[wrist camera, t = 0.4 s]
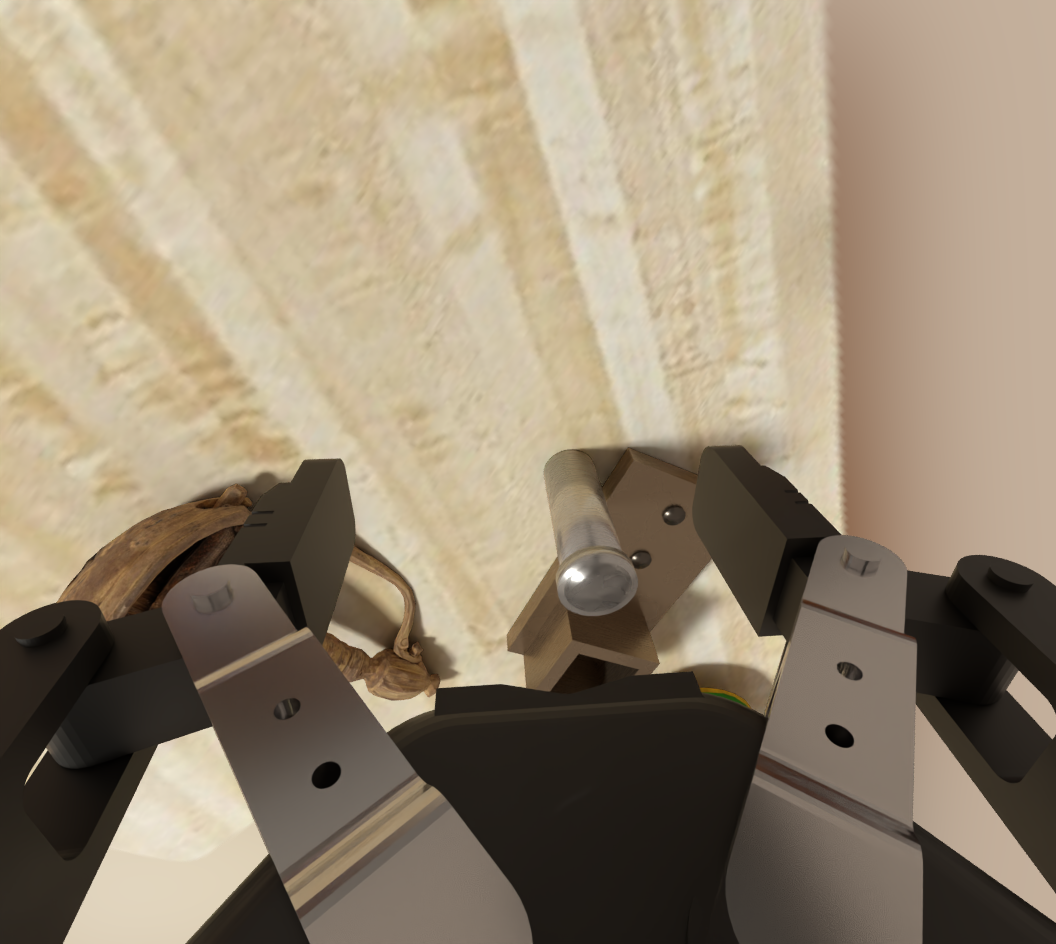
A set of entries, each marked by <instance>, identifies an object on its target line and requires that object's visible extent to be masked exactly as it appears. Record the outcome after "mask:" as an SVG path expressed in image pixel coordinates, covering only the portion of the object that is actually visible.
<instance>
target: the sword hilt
mask: <svg viewBox="0 0 1056 944" xmlns="http://www.w3.org/2000/svg"><path fill="white" fill-rule="evenodd" d="M247 493H248V492H247V491H246V489H245V488H244V487H242V486H240V485H238V484H235V485H232V486H230V487H228V488H227V489H226V490H225V492H224V493H223V494H222V495H221V497H218V498H210V499H206V500H201V501H197V502H192V503H187V504H184V505H180V506H177V507H174V508H171V509H167V510H163V511H161V512H159V513H157V514H155V515H153V516H151V517H149V518H147V519H144V520H142V521H141V522H139V523H137V524H136V525H134V526H132V527H131V528H129V529H128V530H127V531H125V532H124V533H122V534H121V535H119V536H118V537H117V538H115V539H114V540H112V541H111V542H110V543H108V544H107V545H106V546H104V547H103V548H101V549H100V550H99V551H98V552H97V553H96V554H95V555H94V556H93V557H91V558H90V559H89V560H88V561H87V562H86V564H85V565H84V567H83V568H82V570H81V571H80V572H79V573H78V574H77V575H76V577H75V578H74V579H73V580H72V581H71V582H70V584H69V585H68V586H67V588H66V589H65V591H64V592H63V594H62V595H61V597H60V598H59V600H58V601H57V602H56V603H58V602H63V601H70V600H85V601H89V602H93V603H95V604H96V605H97V606H98V607H99V608H100V609H101V611H102V613H103V615H104V617H105V619H106V621H110V620H114V619H118V618H122V617H126V616H130V615H134V614H138V613H142V612H146V611H149V610H153V609H157V608H160V607H162V602H163V600H164V598H165V596H166V595H167V593H168V592H169V591H170V590H171V589H172V588H173V587H174V586H175V585H176V584H177V583H179V582H180V581H182V580H183V579H185V578H186V577H188V576H190V575H192V574H194V573H196V572H199V571H201V570H204V569H207V568H211V567H215V566H217V565H218V563H219V561H220V560H221V558H222V557H223V555H224V554H225V552H226V551H227V549H228V547H229V546H230V544H231V543H232V541H233V540H234V538H235V536H236V535H237V533H238V532H239V530H240V529H241V527H244V525H243V524H244V522H245V521H246V519H247V518H248V516H249V515H251V514H252V513H251V512H250V511H249V510H248V509H247V508H249V507H250V506H252V501H251V500H250V499H249V498H245V497H246V495H247ZM349 561H351V562H353V563H355V564H357V565H359V566H361V567H363V568H365V569H367V570H368V571H370V572H372V573H374V574H376V575H378V576H380V577H382V578H384V579H386V580H387V581H389V582H391V583H392V584H394V585H395V586H396V587H397V588H398V589H399V590H400V592H401V594H402V595H403V597H404V602H405V612H404V619H403V622H402V625H401V628H400V631H399V633H398V635H397V637H396V639H395V641H394V649H385V650H383V651H381V652H379V653H377V654H376V655H375V656H374V657H373V658H370V657H369V656H368V655H367V654H366V653H365V652H364V651H363V650H362V649H359V648H356V647H352V646H349V645H347V644H346V643H345V642H342V641H340V640H339V639H338V638H336V637H335V636H334V635H332V634H330V633H326V636H325V639H324V642H323V645H322V646H323V648H324V649H325V650H326V652H327V653H328V654H329V656H330V657H331V658H332V660H333V661H334V662H335V664H336V665H337V667H338V668H339V669H340V671H341V672H342V673H343V675H344V676H345V677H346V679H347V680H348V681H349V682H353V681H356V680H360V679H364V680H365V682H366V686H367V688H368V691H369V692H370V693H372V694H373V695H375V696H378V697H381V698H385V699H389V700H392V701H393V700H405V699H411V698H413V697H415V696H417V695H418V694H420V693H421V692H422V691H424V692H425V693H426V695H427V696H428V697H430V696H432V695H433V694H435V693H436V688H438V687H439V684H440V678H439V676H438V674H431V675H429V674H428V673H427V670H426V668H425V666H424V664H423V662H422V656H421V655H420V653H421V652H422V651H423V649H422V648H421V647H420V645H419V642H416V643H414V644H413V646H412V647H411V649H410V648H408V636H409V633H410V631H411V628H412V626H413V620H414V612H415V605H416V603H415V600H414V596H413V592H412V590H411V588H410V587H409V586H408V585H407V584H406V582H405V581H404V580H403V579H402V578H401V576H399V575H398V574H397V573H395V572H394V571H392V570H391V569H390V568H388V567H387V566H385V565H384V564H383V563H381V562H380V561H378V560H377V559H375V558H374V557H372V556H370V555H368V554H366V553H364V552H362V551H361V550H359V549H358V548H357V547H355V546H354V548H353V551H352V554H351V557H350V560H349Z"/></svg>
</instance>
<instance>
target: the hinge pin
mask: <svg viewBox="0 0 1056 944" xmlns="http://www.w3.org/2000/svg"><path fill="white" fill-rule="evenodd" d="M544 480H545V485H546V491H547V497H548V503H549V508H550V514H551V520H552V526H553V531H554V537H555V543H556V549H557V554H558V560H559V568H558V570H557V573H556V585H557V591H558V597H559V599H560V601H561V603H562V604H563V605H564V606H565V607H566V608H567V609H568V610H570V611H572V612H574V613H576V614H580V615H584V616H600V615H605V614H609V613H612V612H614V611H617V610H619V609H620V608H622V607H623V606H625V605H626V604H627V603H628V602H629V601H630V600H631V599H632V598H633V596H634V595H635V593H636V591H637V588H638V578H637V574H636V571H635V568H634V566H633V563H632V561H631V559H630V558H629V557H628V556H627V554H625V553H624V552H622V549H621V546H620V543H619V540H618V537H617V534H616V531H615V528H614V524H613V521H612V518H611V515H610V512H609V509H608V506H607V503H606V500H605V497H604V494H603V490H602V487H601V484H600V481H599V478H598V475H597V472H596V469H595V466H594V463H593V461H592V459H591V458H590V457H589V456H588V455H587V454H585V453H584V452H581V451H578V450H565V451H561V452H559V453H557V454H555V455H554V456H552V457H551V458H550V459H549V460H548V462H547V463H546V465H545V468H544Z"/></svg>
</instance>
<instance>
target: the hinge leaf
mask: <svg viewBox="0 0 1056 944" xmlns="http://www.w3.org/2000/svg"><path fill="white" fill-rule="evenodd" d="M697 478H698V475H697V474H694V473H692V472H689V471H687V470H684V469H682V468H679V467H676V466H674V465H671V464H669V463H666V462H664V461H661V460H659V459H656V458H654V457H651V456H649V455H646V454H644V453H641V452H639V451H636V450H634V449H631V448H629V447H628V448H627V450H626V451H625V453H624V455H623V456H622V458H621V459H620V461H619V462H618V464H617V465H616V467H615V468H614V470H613V472H612V473H611V475H610V476H609V478H608V479H607V481H606V482H605V484H604V485H603V487H602V490H603V494H604V497H605V500H606V503H607V506H608V509H609V512H610V515H611V518H612V521H613V524H614V528H615V531H616V534H617V537H618V540H619V543H620V546H621V549H622V552H624V553H625V554H627V556H628V557H629V558H630V559H631V561H632V563H633V566H634V568H635V571H636V574H637V578H638V588H637V591H636V593H635V595H634V596H633V598H632V599H631V600H630V601H629V602H628V603H627V604H626V605H625V606H623V607H622V608H620V609H619V610H617V611H614V612H612V613H609V614H605V615H600V616H584V615H580V614H576V613H574V612H572V611H570V610H568V609H567V608H566V607H565V606H564V605H563V604H562V603H561V601H560V599H559V597H558V591H557V585H556V573H557V570H558V568H559V560H558V557H557V558H556V560H555V561H554V563H553V564H552V566H551V567H550V569H549V571H548V572H547V574H546V575H545V577H544V578H543V580H542V581H541V583H540V584H539V586H538V588H537V589H536V591H535V592H534V594H533V595H532V597H531V598H530V600H529V601H528V603H527V605H526V606H525V608H524V609H523V611H522V612H521V614H520V615H519V617H518V618H517V620H516V622H515V623H514V625H513V626H512V628H511V629H510V631H509V632H508V634H507V646H508V651H510V652H514V653H518V654H522V655H524V665H525V678H526V688H529V689H535V690H542V691H548V692H555V693H561V694H572V693H577V692H580V691H583V690H586V689H590V688H593V687H596V686H599V685H603V684H606V683H609V682H612V681H616V680H619V679H622V678H625V677H628V676H633V675H648V674H651V673H652V672H653V671H654V670H655V669H656V667H657V666H658V665H659V664H660V663H659V660H658V656H657V653H656V650H655V647H654V644H653V641H652V638H651V635H650V631H651V630H652V629H653V628H654V626H655V625H656V624H657V623H658V622H659V620H660V619H661V618H662V617H663V616H664V614H665V613H666V612H667V611H668V610H669V608H670V607H671V606H672V605H673V604H674V602H675V601H676V600H677V599H678V598H679V596H680V595H681V594H682V593H683V592H684V590H685V589H686V588H687V587H688V586H689V584H690V583H691V582H692V581H693V580H694V578H695V577H696V576H697V575H698V574H699V572H700V571H701V570H702V569H703V568H704V567H705V565H706V564H707V563H708V562H709V561H710V559H711V556H710V554H709V552H708V551H707V549H706V547H705V546H704V544H703V542H702V541H701V539H700V537H699V536H698V534H697V532H696V530H695V527H694V523H693V517H692V506H693V500H694V494H695V489H696V483H697Z"/></svg>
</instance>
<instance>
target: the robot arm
mask: <svg viewBox="0 0 1056 944" xmlns="http://www.w3.org/2000/svg"><path fill="white" fill-rule="evenodd" d="M692 517H693V523H694V527H695V530H696V532H697V534H698V536H699V537H700V539H701V541H702V542H703V544H704V546H705V547H706V549H707V551H708V552H709V554H710V556H711V558H712V559H713V561H714V563H715V564H716V566H717V568H718V569H719V571H720V573H721V574H722V576H723V578H724V579H725V581H726V583H727V584H728V586H729V588H730V590H731V591H732V593H733V595H734V596H735V598H736V600H737V601H738V603H739V605H740V606H741V608H742V610H743V611H744V613H745V615H746V616H747V618H748V620H749V622H750V623H751V625H752V627H753V628H754V630H755V632H756V633H757V635H758V637H760V636H776V635H783V636H784V638H785V639H786V644H785V647H784V650H783V653H782V656H781V659H780V663H779V666H778V669H777V673H776V676H775V679H774V683H773V686H772V689H771V693H770V696H769V699H768V703H767V706H766V709H765V713H764V715H762V714H760V713H758V712H757V711H755V710H753V709H751V708H749V707H747V706H744V705H742V704H740V703H738V702H735V701H732V700H729V699H727V698H724V697H720V696H716V695H712V694H708V693H702V692H701V690H700V688H699V686H698V683H697V681H696V678H695V676H694V674H693V672H679V673H664V674H648V675H633V676H628V677H625V678H622V679H619V680H616V681H612V682H609V683H606V684H603V685H599V686H596V687H593V688H590V689H586V690H583V691H580V692H577V693H572V694H561V693H555V692H548V691H542V690H535V689H529V688H522V687H516V686H509V685H503V684H496V685H481V686H466V687H451V688H436V701H435V710H432V711H429V712H426V713H423V714H421V715H418V716H416V717H414V718H411V719H409V720H407V721H405V722H403V723H402V724H400V725H398V726H396V727H394V728H393V729H391V730H390V731H389V732H387V733H386V731H385V730H384V729H383V727H382V726H381V725H380V723H379V722H378V720H377V719H376V718H375V716H374V715H373V714H372V712H371V711H370V710H369V708H368V707H367V706H366V704H365V703H364V702H363V700H362V699H361V698H360V696H359V695H358V693H357V692H356V691H355V689H354V688H353V687H352V685H351V684H350V683H349V681H348V680H347V679H346V677H345V676H344V675H343V673H342V672H341V671H340V669H339V668H338V667H337V665H336V664H335V662H334V661H333V660H332V658H331V657H330V656H329V654H328V653H327V652H326V650H325V649H324V648H323V646H322V645H323V642H324V639H325V636H326V633H327V630H328V627H329V623H330V620H331V617H332V614H333V611H334V608H335V604H336V601H337V598H338V595H339V592H340V589H341V586H342V582H343V579H344V576H345V573H346V570H347V567H348V563H349V560H350V557H351V554H352V551H353V548H354V543H355V519H354V513H353V508H352V502H351V497H350V491H349V486H348V481H347V475H346V470H345V466H344V463H343V461H342V460H341V459H312V460H304V461H303V462H302V464H301V466H300V467H299V469H298V471H297V473H296V474H295V476H294V478H293V480H292V481H291V483H279V484H278V485H276V486H275V487H274V488H272V489H271V490H269V491H268V492H267V493H265V494H264V495H263V496H261V498H260V499H259V501H258V502H257V504H256V505H255V507H254V508H253V510H252V514H251V515H249V516H248V518H247V519H246V521H245V522H244V524H243V525H244V527H241V529H240V530H239V532H238V533H237V535H236V536H235V538H234V540H233V541H232V543H231V544H230V546H229V547H228V549H227V551H226V552H225V554H224V555H223V557H222V558H221V560H220V561H219V563H218V565H217V566H215V567H211V568H207V569H204V570H201V571H199V572H196V573H194V574H192V575H190V576H188V577H186V578H185V579H183V580H182V581H180V582H179V583H177V584H176V585H175V586H174V587H173V588H172V589H171V590H170V591H169V592H168V593H167V595H166V596H165V598H164V600H163V602H162V607H160V608H157V609H153V610H149V611H146V612H142V613H138V614H134V615H130V616H126V617H122V618H118V619H114V620H110V621H106V619H105V617H104V615H103V613H102V611H101V609H100V608H99V607H98V606H97V605H96V604H95V603H93V602H89V601H85V600H70V601H63V602H58V603H54V604H50V605H47V606H44V607H41V608H38V609H36V610H33V611H31V612H29V613H27V614H25V615H23V616H21V617H19V618H17V619H15V620H14V621H12V622H11V623H9V624H8V625H6V626H5V627H3V628H2V629H1V630H0V944H63V942H64V940H65V938H66V936H67V934H68V932H69V929H70V927H71V925H72V923H73V921H74V919H75V917H76V915H77V913H78V911H79V909H80V906H81V904H82V902H83V900H84V898H85V896H86V894H87V892H88V890H89V888H90V886H91V884H92V881H93V879H94V877H95V875H96V873H97V870H98V869H99V867H100V865H101V863H102V861H103V858H104V856H105V854H106V852H107V850H108V848H109V846H110V844H111V842H112V840H113V838H114V836H115V833H116V831H117V829H118V827H119V825H120V823H121V821H122V819H123V817H124V815H125V813H126V810H127V808H128V806H129V804H130V802H131V800H132V798H133V796H134V794H135V792H136V790H137V787H138V785H139V783H140V781H141V779H142V777H143V775H144V773H145V771H146V769H147V767H148V764H149V762H150V760H151V758H152V756H153V754H154V752H155V750H156V748H157V746H158V744H161V743H164V742H167V741H170V740H173V739H176V738H179V737H182V736H185V735H188V734H191V733H194V732H197V731H200V730H203V729H206V728H209V727H212V726H213V729H214V731H215V733H216V735H217V738H218V740H219V742H220V744H221V747H222V749H223V751H224V753H225V756H226V758H227V760H228V762H229V765H230V767H231V769H232V771H233V774H234V776H235V778H236V781H237V783H238V785H239V787H240V790H241V792H242V794H243V796H244V799H245V801H246V803H247V805H248V808H249V810H250V812H251V814H252V817H253V819H254V821H255V823H256V826H257V828H258V830H259V832H260V835H261V837H262V839H263V842H264V844H265V846H266V848H267V851H268V853H269V854H268V855H267V856H266V857H265V858H264V859H263V861H262V862H261V863H260V864H259V865H258V866H257V867H256V868H255V869H254V870H253V871H252V872H251V874H250V875H249V876H248V877H247V878H246V879H245V880H244V881H243V882H242V883H241V884H240V885H239V886H238V888H237V889H236V890H235V891H234V892H233V893H232V894H231V895H230V896H229V897H228V899H226V900H225V902H224V903H223V904H222V905H221V906H220V907H219V908H218V909H217V910H216V911H215V912H214V913H213V914H212V916H211V917H210V918H209V919H208V920H207V921H206V922H205V923H204V924H203V925H202V926H201V928H200V929H199V930H198V931H197V932H196V933H195V934H194V935H193V936H192V937H191V938H190V939H189V940H188V941H187V943H186V944H1056V923H1055V922H1054V921H1052V920H1051V919H1049V918H1048V917H1047V916H1045V915H1044V914H1043V913H1041V912H1040V911H1038V910H1037V909H1036V908H1034V907H1033V906H1031V905H1030V904H1028V903H1027V902H1026V901H1024V900H1023V899H1022V898H1020V897H1019V896H1017V895H1016V894H1015V893H1013V892H1012V891H1010V890H1009V889H1007V888H1006V887H1005V886H1003V885H1002V884H1000V883H999V882H998V881H996V880H995V879H993V878H992V877H991V876H989V875H988V874H986V873H985V872H984V871H982V870H981V869H979V868H978V867H977V866H975V865H974V864H972V863H971V862H970V861H968V860H967V859H965V858H964V857H963V856H961V855H960V854H958V853H957V852H956V851H954V850H953V849H951V848H950V847H949V846H947V845H946V844H944V843H943V842H942V841H940V840H939V839H937V838H936V837H934V836H933V835H932V834H930V833H929V832H928V831H926V830H925V829H923V828H922V827H921V826H919V825H918V824H916V823H915V822H914V821H913V785H914V744H915V704H916V705H917V706H918V708H919V709H920V710H921V712H922V713H923V714H924V716H925V717H926V718H927V720H928V721H929V722H930V724H931V725H932V726H933V728H934V729H935V731H936V732H937V733H938V735H939V736H940V737H941V739H942V740H943V741H944V743H945V744H946V745H947V747H948V748H949V750H950V751H951V752H952V753H953V755H954V756H955V758H956V759H957V760H958V762H959V763H960V764H961V766H962V767H963V768H964V770H965V771H966V772H967V774H968V775H969V777H970V778H971V779H972V781H973V782H974V783H975V784H976V786H977V787H978V789H979V790H980V791H981V793H982V794H983V796H984V797H985V798H986V800H987V801H988V802H989V804H990V805H991V806H992V808H993V809H994V810H995V812H996V813H997V814H998V816H999V817H1000V818H1001V820H1002V821H1003V823H1004V824H1005V825H1006V827H1007V828H1008V829H1009V831H1010V832H1011V833H1012V835H1013V836H1014V837H1015V839H1016V840H1017V841H1018V843H1019V844H1020V845H1021V847H1022V848H1023V850H1024V851H1025V852H1026V854H1027V855H1028V856H1029V858H1030V859H1031V860H1032V862H1033V863H1034V864H1035V866H1036V867H1037V869H1038V870H1039V871H1040V873H1041V874H1042V875H1043V877H1044V878H1045V879H1046V881H1047V882H1048V883H1049V885H1050V886H1051V887H1052V889H1053V890H1054V892H1055V893H1056V735H1055V737H1054V738H1053V740H1052V739H1051V738H1050V737H1049V736H1048V734H1047V733H1046V732H1045V731H1044V730H1043V729H1042V728H1041V727H1040V726H1039V725H1038V724H1037V723H1036V721H1035V720H1034V719H1033V718H1032V717H1031V716H1030V715H1029V714H1028V713H1027V712H1026V711H1025V710H1024V709H1023V707H1022V706H1021V705H1020V704H1019V703H1018V702H1017V701H1016V700H1015V699H1014V698H1013V697H1012V696H1011V695H1010V693H1009V692H1008V691H1006V689H1007V688H1008V686H1009V684H1010V683H1011V681H1012V680H1013V678H1014V677H1015V675H1016V673H1017V672H1018V671H1020V672H1021V673H1022V674H1023V675H1024V676H1025V677H1026V678H1027V679H1028V680H1029V681H1030V682H1031V683H1032V684H1033V685H1034V686H1035V687H1036V688H1037V689H1038V690H1039V691H1040V692H1041V693H1042V694H1043V695H1044V696H1045V697H1046V698H1047V699H1048V701H1049V702H1050V704H1051V705H1052V707H1053V709H1054V711H1055V713H1056V586H1055V585H1054V584H1052V583H1051V582H1050V581H1048V580H1047V579H1045V578H1044V577H1043V576H1041V575H1040V574H1038V573H1036V572H1034V571H1033V570H1031V569H1029V568H1027V567H1024V566H1022V565H1020V564H1017V563H1014V562H1011V561H1009V560H1005V559H1002V558H997V557H993V556H986V555H971V556H966V557H963V558H961V559H960V560H959V561H958V563H957V566H956V568H955V569H954V571H953V573H952V575H951V577H946V576H939V575H933V574H926V573H919V572H913V571H908V570H907V568H906V566H905V564H904V562H903V561H902V560H901V559H900V558H899V557H898V556H897V555H896V554H895V553H893V552H892V551H890V550H889V549H887V548H886V547H884V546H881V545H880V544H877V543H875V542H872V541H870V540H867V539H864V538H860V537H855V536H848V535H841V534H840V533H839V532H838V531H837V530H836V529H835V528H834V527H833V526H832V525H831V523H830V522H829V521H828V520H827V519H826V518H825V517H824V516H823V515H822V514H821V513H820V512H819V511H818V510H817V509H816V508H815V507H814V506H813V505H812V504H809V503H808V500H807V499H806V498H805V497H804V496H803V495H802V494H801V493H798V490H797V489H796V488H795V487H794V486H793V485H792V484H791V483H790V482H789V481H788V480H787V479H786V477H784V476H782V475H781V474H779V473H777V472H775V471H773V470H772V469H770V468H768V467H766V466H761V465H760V464H759V463H758V462H757V461H756V460H755V459H754V458H753V457H752V456H751V455H750V454H749V453H748V452H747V451H746V449H745V448H744V447H742V446H740V445H735V446H708V447H706V448H705V449H704V451H703V453H702V456H701V461H700V467H699V472H698V478H697V483H696V489H695V494H694V500H693V506H692ZM45 748H47V750H48V751H47V752H46V754H45V755H44V757H43V758H42V760H41V761H40V763H39V764H38V766H37V767H36V769H35V770H34V772H33V773H32V775H31V776H30V778H29V779H28V781H27V782H26V779H27V777H28V775H29V773H30V771H31V769H32V768H33V766H34V765H35V763H36V762H37V760H38V759H39V757H40V756H41V754H42V753H43V751H44V750H45ZM25 782H26V784H25ZM24 785H25V786H24Z"/></svg>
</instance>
